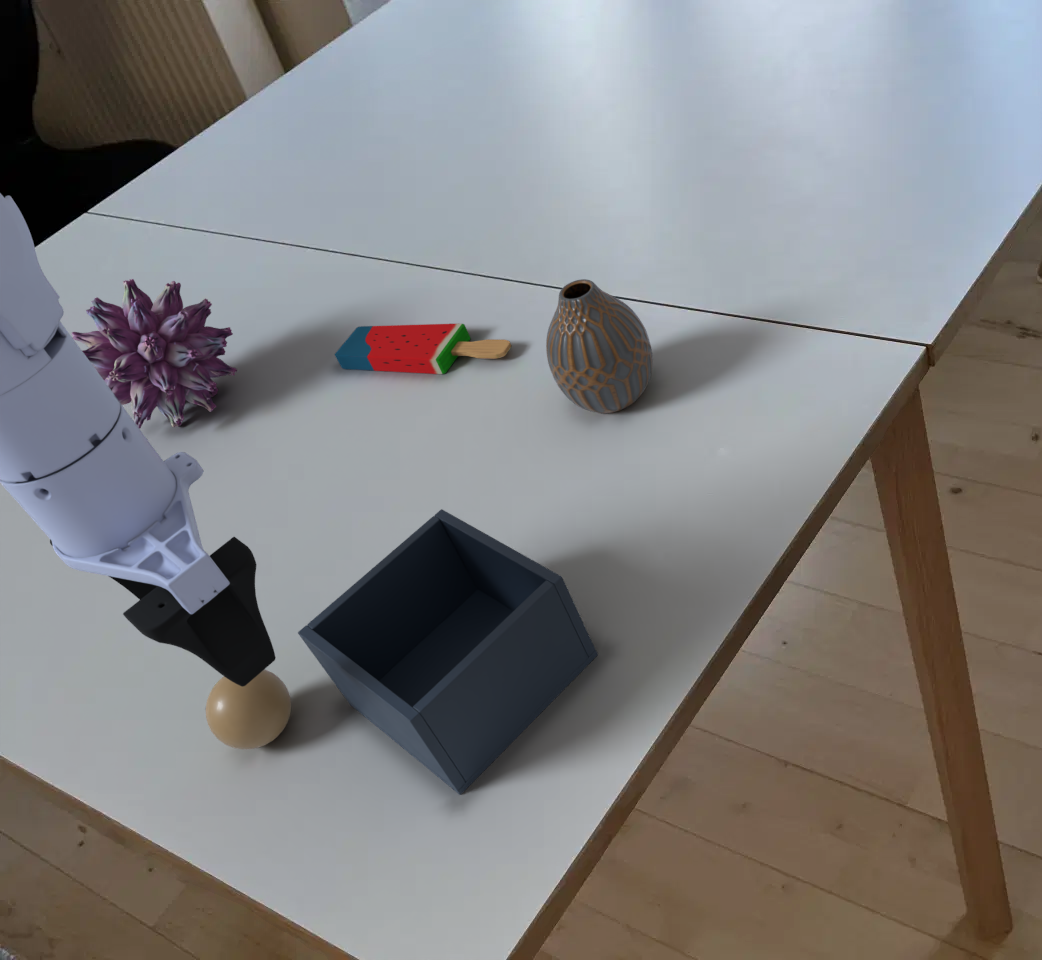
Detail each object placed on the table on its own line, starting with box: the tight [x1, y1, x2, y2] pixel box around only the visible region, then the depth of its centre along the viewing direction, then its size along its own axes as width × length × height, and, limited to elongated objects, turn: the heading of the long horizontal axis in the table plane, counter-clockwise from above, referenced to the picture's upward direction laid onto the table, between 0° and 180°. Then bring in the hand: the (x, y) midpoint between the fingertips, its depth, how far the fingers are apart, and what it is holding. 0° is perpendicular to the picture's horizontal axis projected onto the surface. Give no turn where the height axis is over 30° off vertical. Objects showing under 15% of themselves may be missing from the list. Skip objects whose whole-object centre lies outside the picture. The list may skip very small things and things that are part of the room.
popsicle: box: [334, 322, 512, 375], centre depth 86 cm, size 4×2×15 cm
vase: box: [545, 278, 654, 414], centre depth 73 cm, size 7×7×9 cm
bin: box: [297, 508, 599, 796], centre depth 58 cm, size 10×10×6 cm
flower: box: [71, 278, 238, 430], centre depth 86 cm, size 12×12×12 cm
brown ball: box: [205, 668, 292, 750], centre depth 60 cm, size 4×4×4 cm
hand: (219, 637), depth 56 cm, fingers open, 7 cm apart
